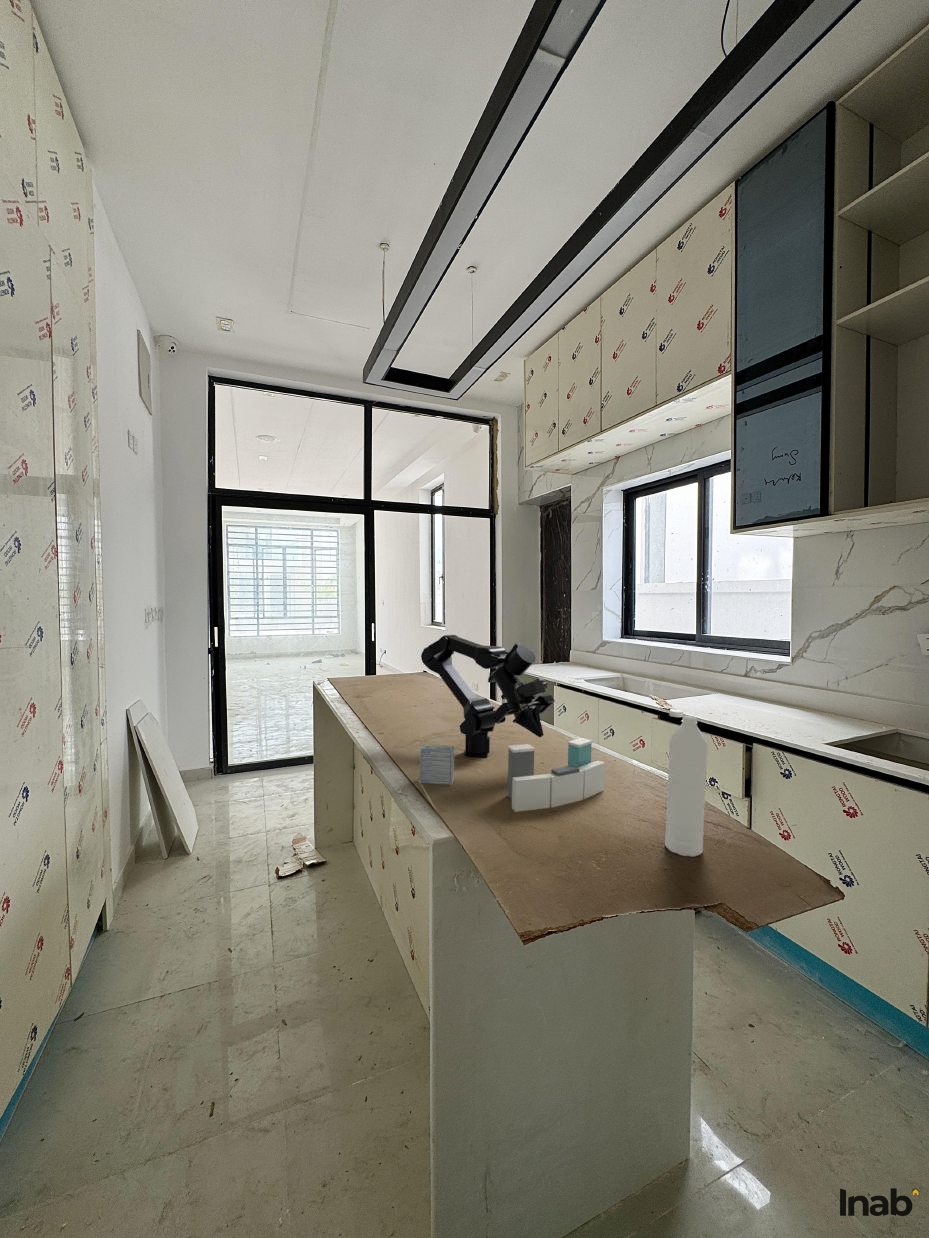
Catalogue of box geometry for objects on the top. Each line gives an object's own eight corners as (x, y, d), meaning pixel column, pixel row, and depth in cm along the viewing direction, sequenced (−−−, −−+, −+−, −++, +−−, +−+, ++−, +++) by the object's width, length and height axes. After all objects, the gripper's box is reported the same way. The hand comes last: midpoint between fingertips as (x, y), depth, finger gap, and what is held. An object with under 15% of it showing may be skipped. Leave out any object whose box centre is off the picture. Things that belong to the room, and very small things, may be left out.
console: (521, 816, 110) (521, 780, 109) (509, 809, 113) (510, 774, 113) (610, 794, 122) (611, 761, 122) (597, 788, 126) (599, 756, 125)
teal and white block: (566, 789, 124) (567, 741, 123) (579, 784, 128) (580, 737, 127) (577, 793, 122) (579, 744, 121) (590, 788, 125) (592, 740, 125)
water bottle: (710, 856, 95) (717, 720, 94) (677, 858, 94) (683, 721, 92) (682, 833, 104) (688, 708, 102) (651, 835, 103) (657, 709, 101)
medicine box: (454, 779, 130) (454, 745, 130) (451, 786, 126) (452, 751, 125) (422, 777, 131) (423, 743, 130) (419, 784, 127) (419, 749, 126)
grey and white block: (506, 795, 120) (508, 745, 119) (527, 793, 122) (529, 744, 121) (512, 800, 117) (513, 749, 116) (533, 798, 119) (534, 748, 118)
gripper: (502, 671, 129) (536, 725, 122) (550, 664, 142) (583, 713, 134) (479, 697, 135) (510, 749, 128) (527, 688, 148) (557, 736, 141)
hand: (541, 736), depth 133 cm, fingers closed
